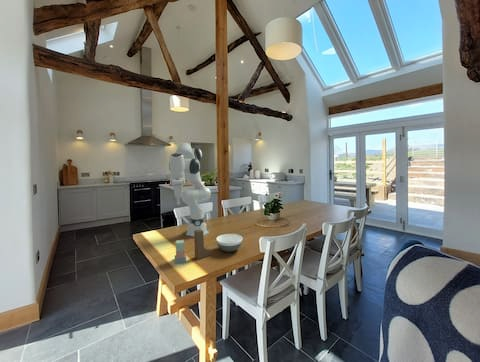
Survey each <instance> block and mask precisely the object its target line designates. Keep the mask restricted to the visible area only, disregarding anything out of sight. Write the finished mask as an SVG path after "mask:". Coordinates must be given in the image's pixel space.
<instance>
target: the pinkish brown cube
mask: <svg viewBox="0 0 480 362" xmlns="http://www.w3.org/2000/svg"><path fill="white" fill-rule="evenodd" d="M185 254H186V253H185V249H184V250H183V251H176V250H175V255H176V259H181V258H185Z"/></svg>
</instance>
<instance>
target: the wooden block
mask: <svg viewBox="0 0 480 362" xmlns="http://www.w3.org/2000/svg"><path fill="white" fill-rule="evenodd" d="M204 236H205V235H204V234H203V230H201V229H199V230H195V231H194V238H193V240H194V258H196V259H197V260H200V259H204V258H206V257H208V256H209V257H210V256H211V249H210V248H209V247H206V246H205V241H204V240H205V239H204Z"/></svg>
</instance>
